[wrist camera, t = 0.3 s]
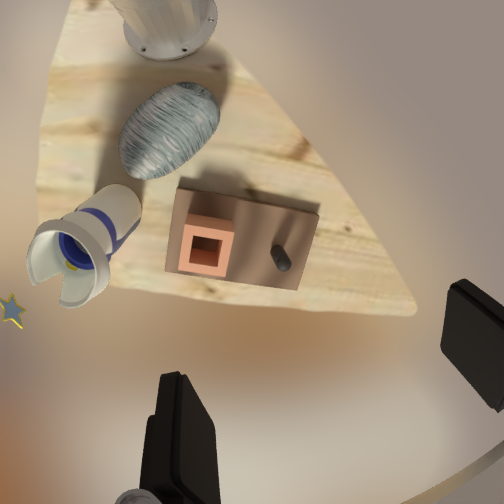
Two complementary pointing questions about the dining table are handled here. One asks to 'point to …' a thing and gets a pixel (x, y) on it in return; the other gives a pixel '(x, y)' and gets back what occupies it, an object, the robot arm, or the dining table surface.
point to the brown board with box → (247, 238)
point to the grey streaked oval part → (168, 130)
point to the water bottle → (80, 247)
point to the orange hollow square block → (206, 259)
